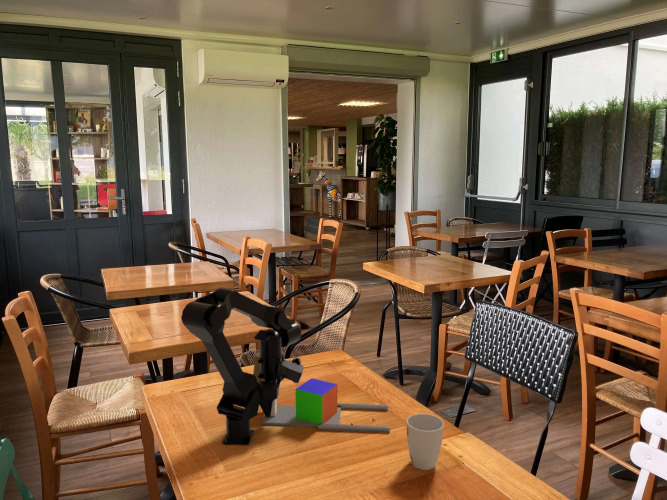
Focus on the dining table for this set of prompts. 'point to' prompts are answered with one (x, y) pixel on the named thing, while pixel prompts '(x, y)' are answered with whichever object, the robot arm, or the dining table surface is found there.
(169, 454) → the dining table surface
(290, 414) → the grey panel with knob
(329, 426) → the lane rails
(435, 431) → the cup
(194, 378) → the dining table surface
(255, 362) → the cork
